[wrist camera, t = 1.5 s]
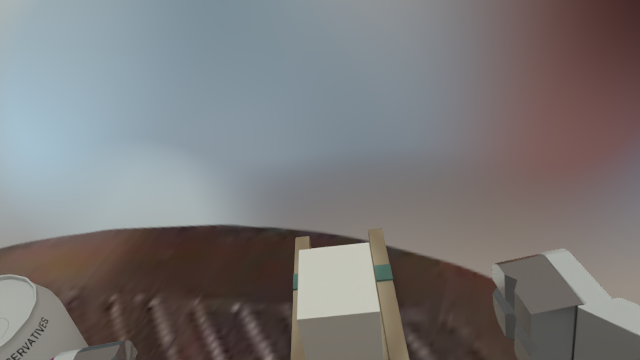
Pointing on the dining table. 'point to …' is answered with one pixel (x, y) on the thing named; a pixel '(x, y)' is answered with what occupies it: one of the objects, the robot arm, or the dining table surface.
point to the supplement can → (33, 322)
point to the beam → (388, 305)
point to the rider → (338, 304)
